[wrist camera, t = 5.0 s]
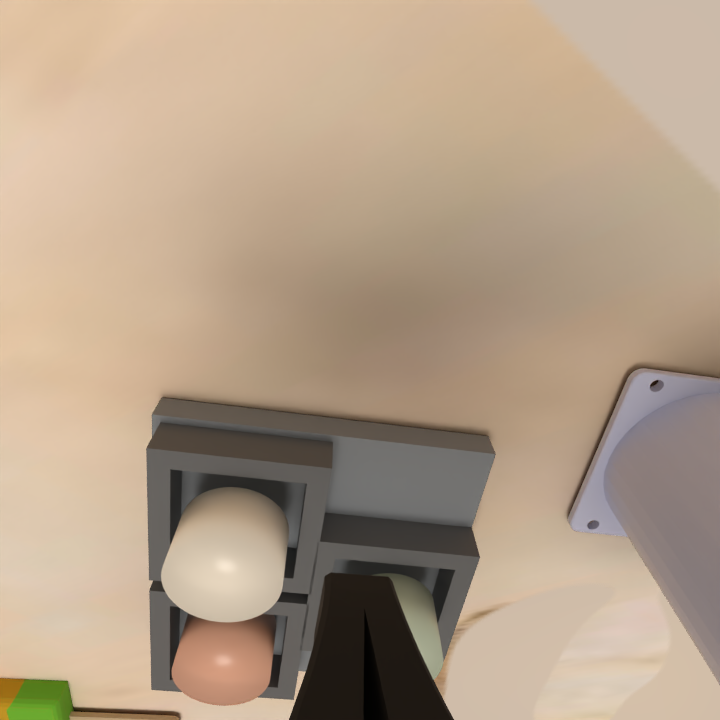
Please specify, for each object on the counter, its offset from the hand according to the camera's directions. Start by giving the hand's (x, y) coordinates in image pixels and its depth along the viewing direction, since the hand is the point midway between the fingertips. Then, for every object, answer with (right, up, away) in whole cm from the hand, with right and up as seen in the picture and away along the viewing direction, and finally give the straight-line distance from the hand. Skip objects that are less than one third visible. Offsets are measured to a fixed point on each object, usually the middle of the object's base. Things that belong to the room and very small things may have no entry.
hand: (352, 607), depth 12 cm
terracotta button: (-6, -7, +13) cm, 16 cm away
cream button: (-4, -1, +9) cm, 10 cm away
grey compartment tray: (-2, -3, +13) cm, 14 cm away
